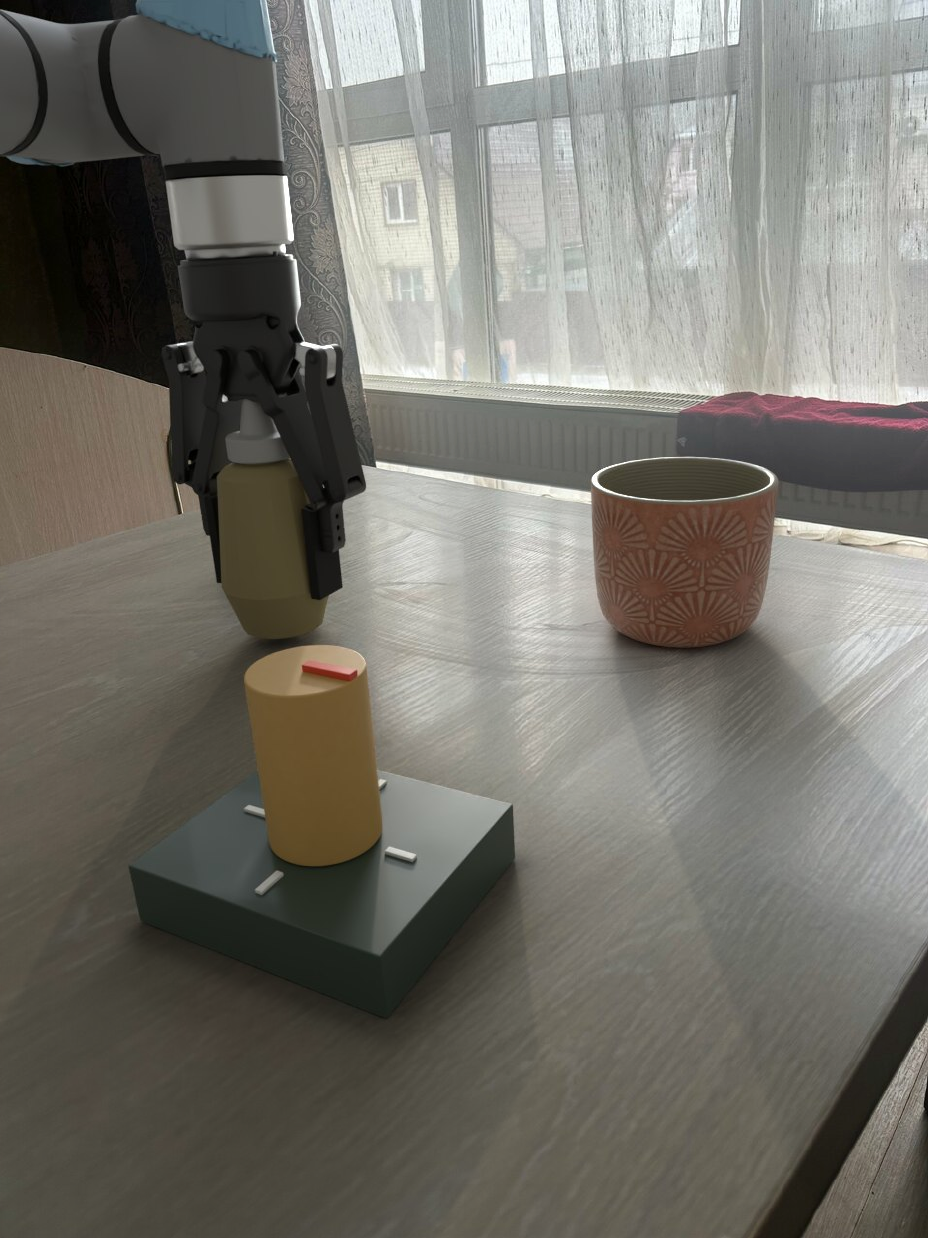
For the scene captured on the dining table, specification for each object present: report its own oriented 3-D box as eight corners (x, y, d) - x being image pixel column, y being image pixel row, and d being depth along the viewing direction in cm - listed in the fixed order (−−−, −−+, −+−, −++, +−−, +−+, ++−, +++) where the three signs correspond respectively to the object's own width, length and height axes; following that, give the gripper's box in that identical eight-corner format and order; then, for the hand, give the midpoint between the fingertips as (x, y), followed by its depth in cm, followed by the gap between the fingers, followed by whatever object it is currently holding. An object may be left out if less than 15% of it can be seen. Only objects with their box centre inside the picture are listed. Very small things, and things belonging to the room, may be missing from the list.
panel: (140, 921, 43) (126, 862, 41) (295, 796, 51) (288, 744, 50) (387, 1020, 36) (379, 953, 35) (515, 858, 45) (513, 801, 44)
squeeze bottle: (232, 655, 67) (192, 393, 60) (225, 615, 75) (189, 377, 68) (347, 637, 69) (321, 382, 62) (329, 600, 76) (304, 367, 70)
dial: (245, 849, 42) (216, 676, 39) (315, 791, 46) (294, 630, 43) (339, 880, 40) (316, 698, 36) (404, 816, 44) (388, 648, 40)
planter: (558, 618, 72) (555, 474, 68) (689, 584, 77) (694, 448, 73) (663, 678, 62) (667, 513, 58) (806, 634, 67) (820, 480, 63)
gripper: (405, 244, 60) (427, 586, 69) (160, 254, 70) (207, 553, 79) (333, 250, 54) (368, 624, 63) (77, 260, 64) (137, 583, 72)
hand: (278, 584), depth 71 cm, fingers closed on squeeze bottle, 8 cm apart
